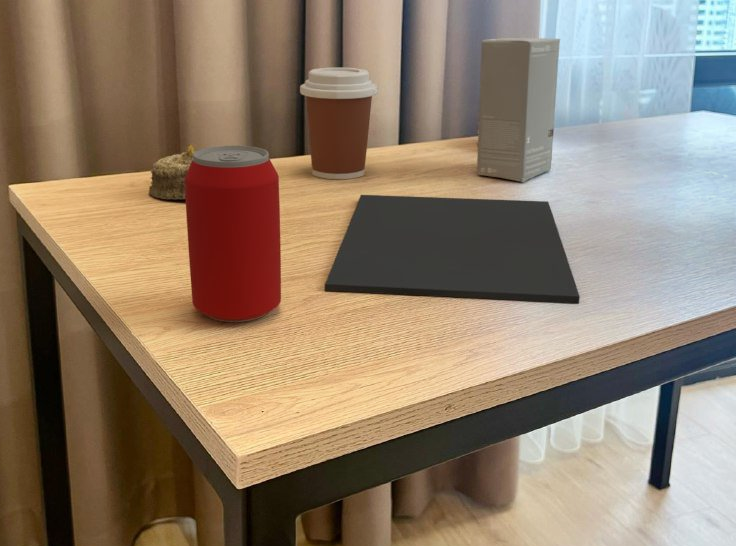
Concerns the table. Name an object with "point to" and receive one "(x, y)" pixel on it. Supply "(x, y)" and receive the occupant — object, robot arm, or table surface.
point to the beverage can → (233, 232)
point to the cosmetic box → (517, 107)
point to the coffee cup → (338, 120)
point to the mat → (453, 250)
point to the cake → (171, 175)
